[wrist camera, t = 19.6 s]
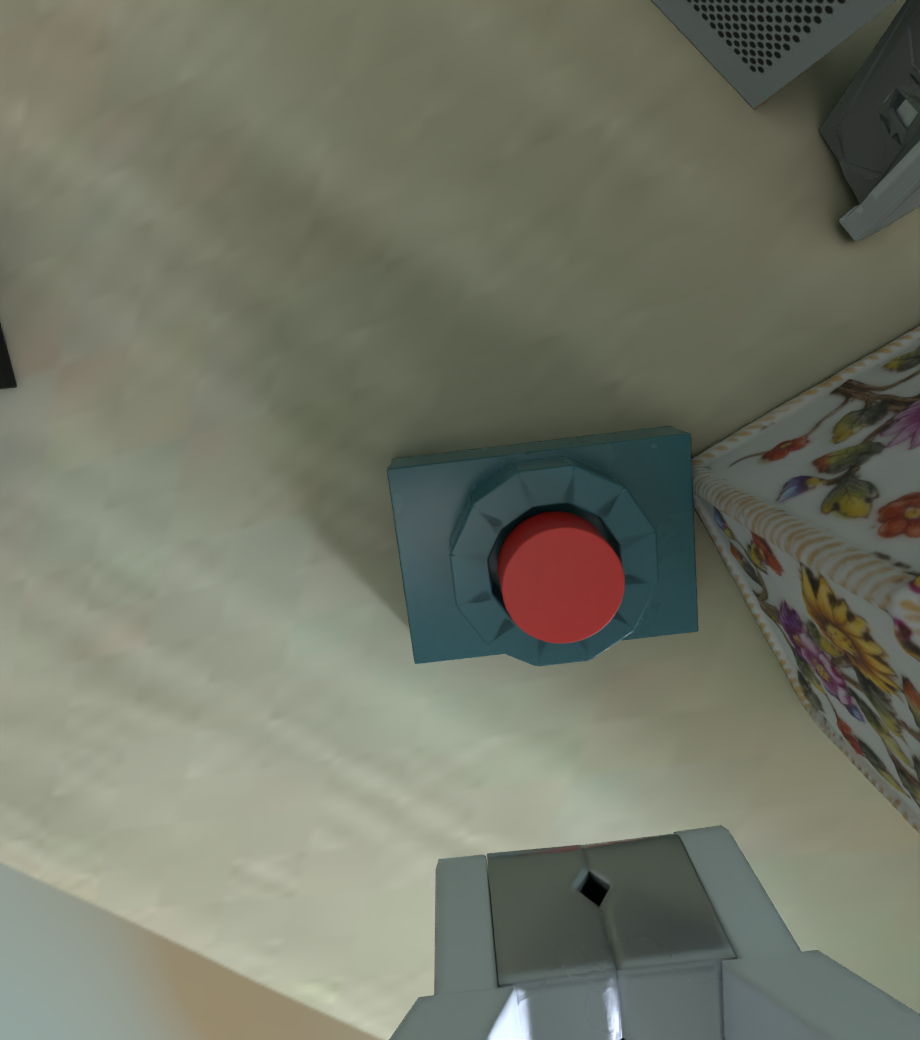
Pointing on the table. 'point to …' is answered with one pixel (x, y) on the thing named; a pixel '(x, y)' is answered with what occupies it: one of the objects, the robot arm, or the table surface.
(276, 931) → the table surface
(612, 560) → the button
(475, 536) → the button block
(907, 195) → the electrical switch
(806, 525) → the decorative jar
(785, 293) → the table surface
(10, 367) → the bracket
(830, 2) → the cassette player
